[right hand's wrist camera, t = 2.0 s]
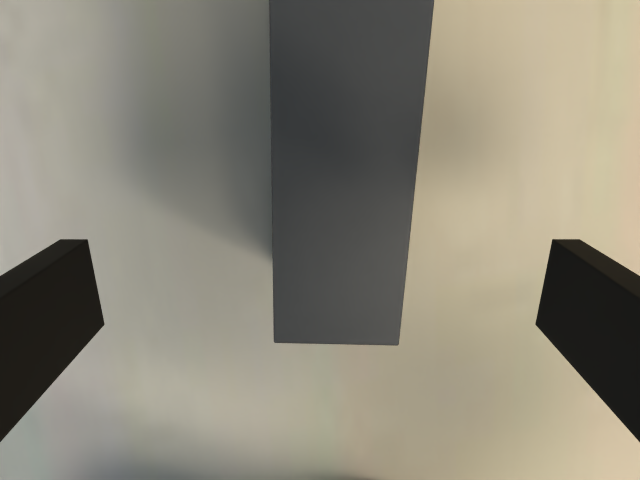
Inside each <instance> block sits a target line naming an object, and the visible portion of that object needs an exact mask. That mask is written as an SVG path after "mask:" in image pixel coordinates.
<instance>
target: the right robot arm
mask: <svg viewBox="0 0 640 480" xmlns="http://www.w3.org/2000/svg"><path fill="white" fill-rule="evenodd" d="M103 326H104V319H103V314H102V309H101V304H100V299H99V294H98V289H97V284H96V279H95V274H94V269H93V264H92V259H91V254H90V249H89V244H88V239H60V240H59V241H57V242H55V243H54V244H52V245H50V246H49V247H47V248H46V249H44V250H42V251H41V252H39V253H37V254H36V255H34V256H32V257H31V258H29V259H28V260H26V261H24V262H23V263H21V264H19V265H18V266H16V267H14V268H13V269H11V270H9V271H8V272H6V273H5V274H3V275H1V276H0V442H1V441H2V439H3V438H4V437H5V436H6V435H7V434H8V433H9V432H10V430H11V429H12V428H13V427H14V426H15V425H16V424H17V423H18V421H19V420H20V419H21V418H22V417H23V416H24V415H25V414H26V412H27V411H28V410H29V409H30V408H31V407H32V406H33V405H34V403H35V402H36V401H37V400H38V399H39V398H40V397H41V395H42V394H43V393H44V392H45V391H46V390H47V389H48V388H49V386H50V385H51V384H52V383H53V382H54V381H55V380H56V379H57V377H58V376H59V375H60V374H61V373H62V372H63V371H64V370H65V368H66V367H67V366H68V365H69V364H70V363H71V362H72V361H73V359H74V358H75V357H76V356H77V355H78V354H79V353H80V352H81V350H82V349H83V348H84V347H85V346H86V345H87V344H88V342H89V341H90V340H91V339H92V338H93V337H94V336H95V335H96V333H97V332H98V331H99V330H100V329H101V328H102V327H103ZM536 326H537V327H538V328H539V329H540V330H541V331H542V332H543V333H544V335H545V336H546V337H547V338H548V339H549V340H550V341H551V342H552V344H553V345H554V346H555V347H556V348H557V349H558V350H559V352H560V353H561V354H562V355H563V356H564V357H565V358H566V359H567V361H568V362H569V363H570V364H571V365H572V366H573V367H574V368H575V370H576V371H577V372H578V373H579V374H580V375H581V376H582V377H583V379H584V380H585V381H586V382H587V383H588V384H589V385H590V386H591V388H592V389H593V390H594V391H595V392H596V393H597V394H598V395H599V397H600V398H601V399H602V400H603V401H604V402H605V403H606V405H607V406H608V407H609V408H610V409H611V410H612V411H613V412H614V414H615V415H616V416H617V417H618V418H619V419H620V420H621V421H622V423H623V424H624V425H625V426H626V427H627V428H628V429H629V430H630V432H631V433H632V434H633V435H634V436H635V437H636V438H637V439H638V441H639V442H640V276H639V275H637V274H635V273H634V272H632V271H631V270H629V269H627V268H626V267H624V266H622V265H621V264H619V263H617V262H616V261H614V260H612V259H611V258H609V257H608V256H606V255H604V254H603V253H601V252H599V251H598V250H596V249H594V248H593V247H591V246H590V245H588V244H586V243H585V242H583V241H581V240H580V239H552V244H551V249H550V254H549V259H548V264H547V269H546V274H545V279H544V284H543V289H542V294H541V299H540V304H539V309H538V314H537V319H536Z"/></svg>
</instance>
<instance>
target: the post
mask: <svg viewBox="0 0 640 480" xmlns="http://www.w3.org/2000/svg"><path fill="white" fill-rule="evenodd" d="M433 7H434V0H269V18H270V92H271V167H272V241H273V316H274V343H309V344H357V345H398V344H399V336H400V327H401V317H402V307H403V298H404V288H405V278H406V269H407V259H408V249H409V240H410V230H411V220H412V210H413V201H414V191H415V181H416V172H417V162H418V152H419V143H420V133H421V123H422V114H423V104H424V94H425V85H426V75H427V65H428V56H429V46H430V36H431V27H432V17H433Z"/></svg>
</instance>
